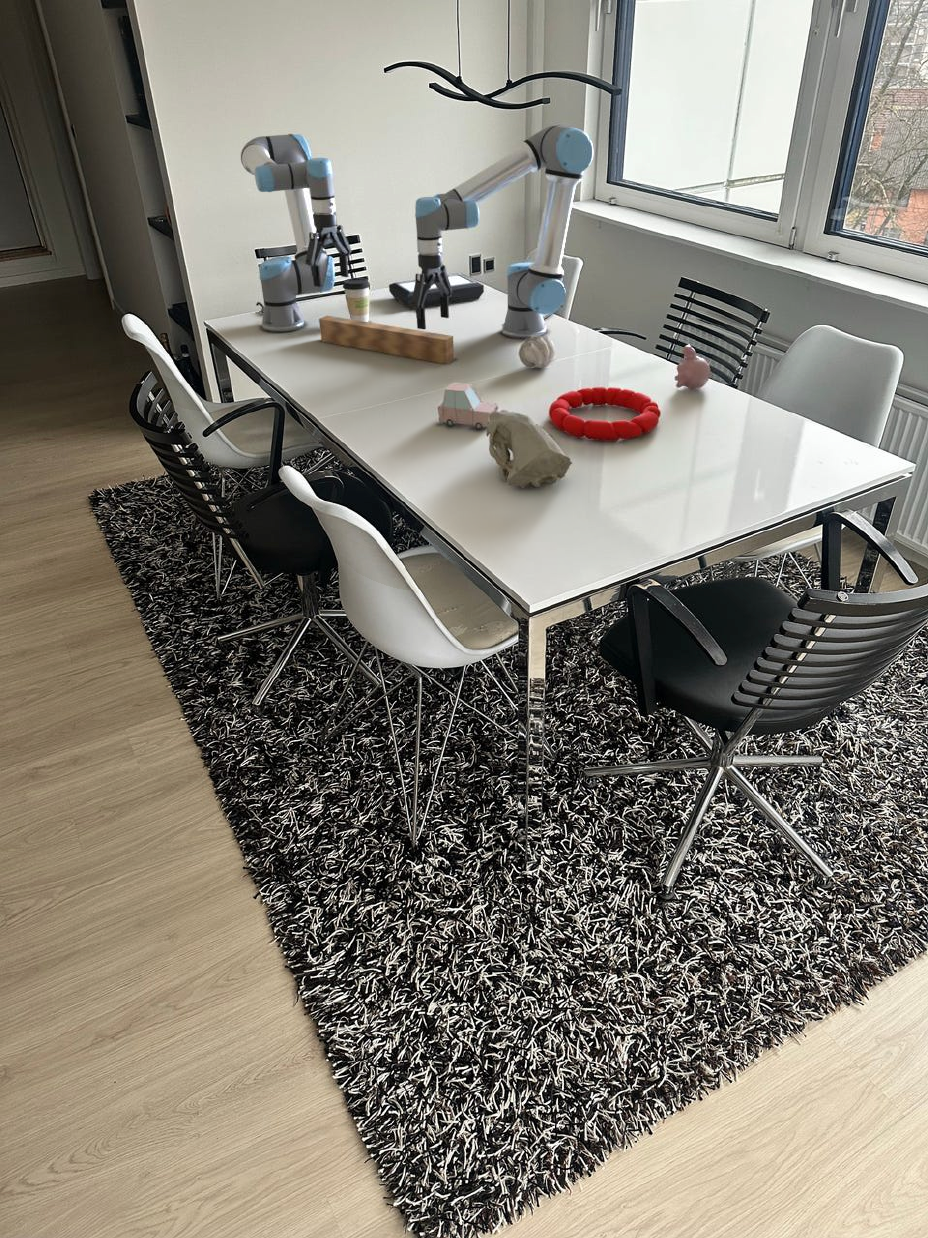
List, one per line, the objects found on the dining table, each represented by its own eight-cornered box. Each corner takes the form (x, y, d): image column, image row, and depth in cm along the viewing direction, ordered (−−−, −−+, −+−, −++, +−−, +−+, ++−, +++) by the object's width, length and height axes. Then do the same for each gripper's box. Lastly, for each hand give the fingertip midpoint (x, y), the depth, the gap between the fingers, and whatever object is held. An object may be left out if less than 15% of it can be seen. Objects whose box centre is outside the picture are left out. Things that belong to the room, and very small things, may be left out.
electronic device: (407, 294, 335) (388, 282, 350) (408, 310, 338) (389, 298, 353) (483, 282, 345) (462, 272, 360) (483, 299, 348) (463, 287, 364)
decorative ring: (589, 435, 224) (684, 402, 234) (527, 398, 247) (617, 369, 256) (589, 461, 229) (683, 427, 238) (529, 422, 251) (617, 393, 260)
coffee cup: (372, 326, 323) (368, 283, 314) (345, 327, 323) (340, 284, 315) (374, 318, 331) (371, 276, 322) (348, 319, 331) (344, 277, 323)
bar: (321, 341, 311) (318, 318, 306) (329, 337, 314) (327, 315, 310) (446, 363, 287) (445, 339, 283) (454, 359, 291) (453, 335, 286)
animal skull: (496, 517, 219) (521, 479, 201) (463, 429, 225) (484, 384, 207) (557, 503, 225) (586, 465, 206) (523, 417, 231) (549, 373, 212)
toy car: (488, 432, 240) (488, 396, 234) (436, 426, 244) (434, 390, 239) (499, 419, 247) (499, 384, 241) (448, 413, 252) (447, 379, 246)
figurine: (665, 387, 264) (669, 347, 257) (693, 380, 268) (698, 340, 261) (686, 396, 257) (690, 355, 250) (714, 388, 262) (720, 348, 255)
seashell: (509, 366, 283) (509, 335, 277) (548, 358, 288) (549, 327, 283) (526, 376, 275) (526, 344, 269) (566, 367, 281) (567, 335, 275)
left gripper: (306, 221, 274) (315, 291, 287) (358, 206, 291) (363, 273, 303) (288, 218, 278) (297, 288, 290) (340, 204, 295) (346, 271, 307)
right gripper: (417, 262, 263) (421, 335, 275) (461, 245, 280) (463, 314, 292) (396, 260, 266) (401, 331, 278) (441, 243, 283) (444, 311, 295)
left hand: (331, 281), depth 297 cm, fingers open, 13 cm apart
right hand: (433, 322), depth 285 cm, fingers open, 13 cm apart
